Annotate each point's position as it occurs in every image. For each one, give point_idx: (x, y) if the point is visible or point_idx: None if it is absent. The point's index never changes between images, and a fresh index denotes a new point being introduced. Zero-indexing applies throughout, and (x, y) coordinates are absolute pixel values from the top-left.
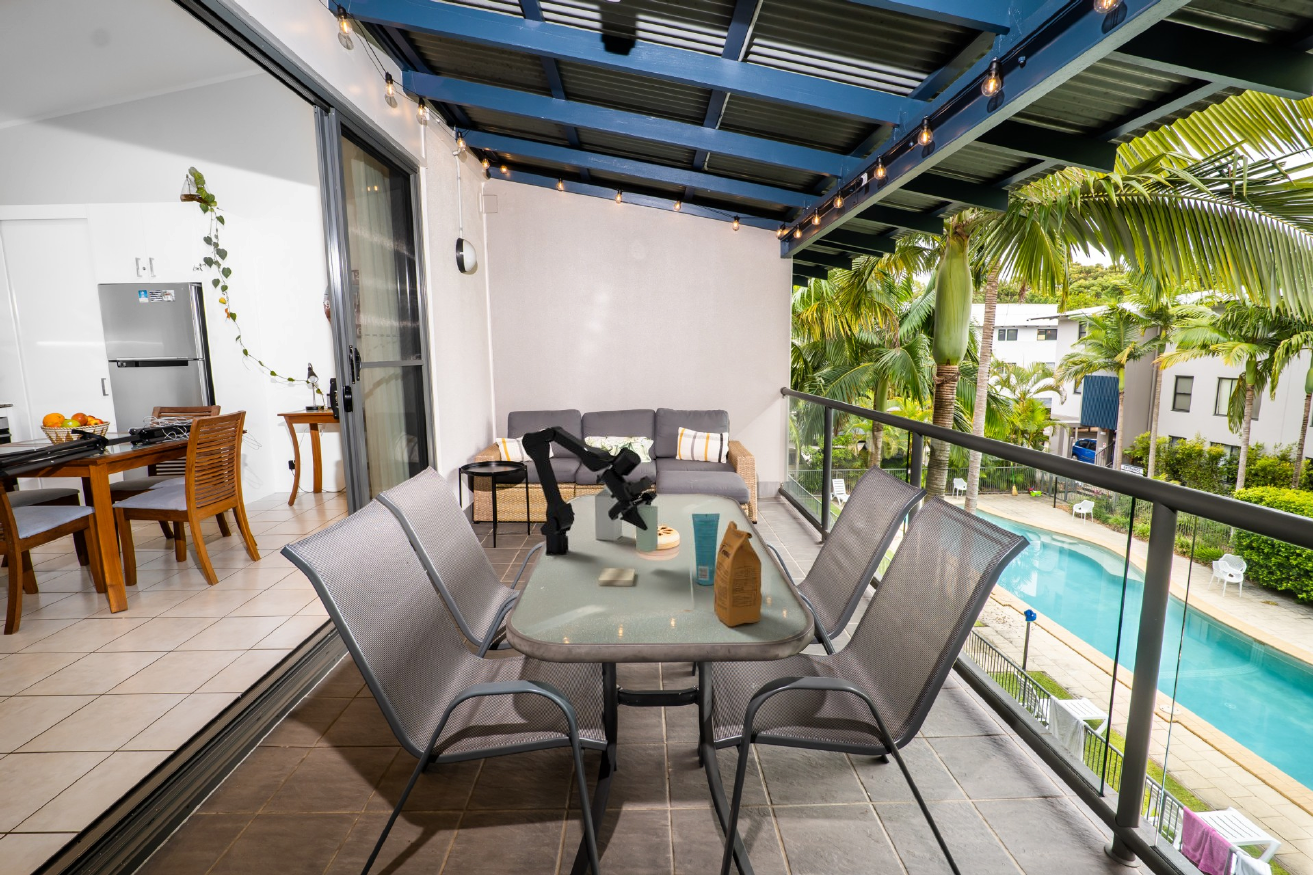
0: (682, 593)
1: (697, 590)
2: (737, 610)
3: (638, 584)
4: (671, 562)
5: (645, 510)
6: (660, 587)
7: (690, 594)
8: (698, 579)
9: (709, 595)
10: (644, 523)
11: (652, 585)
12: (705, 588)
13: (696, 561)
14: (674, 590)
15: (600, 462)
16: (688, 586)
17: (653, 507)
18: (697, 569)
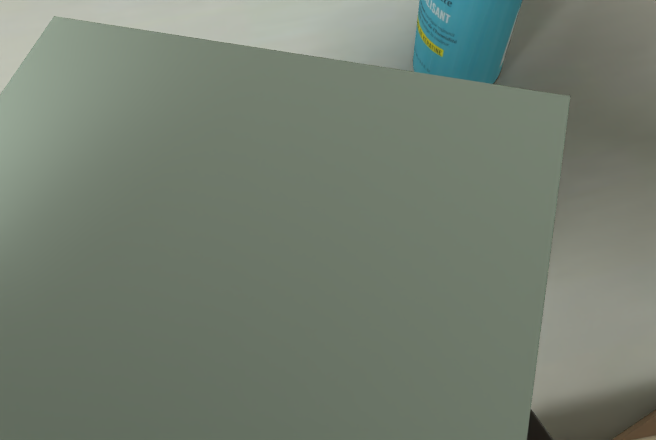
0: (651, 123)
1: (576, 74)
2: None
3: (645, 392)
4: None
5: (528, 283)
6: (626, 245)
7: (644, 89)
8: (497, 71)
9: (612, 21)
10: None
11: (617, 298)
12: (534, 51)
13: (513, 5)
14: (631, 167)
15: None
16: None
17: (209, 72)
18: (505, 38)
